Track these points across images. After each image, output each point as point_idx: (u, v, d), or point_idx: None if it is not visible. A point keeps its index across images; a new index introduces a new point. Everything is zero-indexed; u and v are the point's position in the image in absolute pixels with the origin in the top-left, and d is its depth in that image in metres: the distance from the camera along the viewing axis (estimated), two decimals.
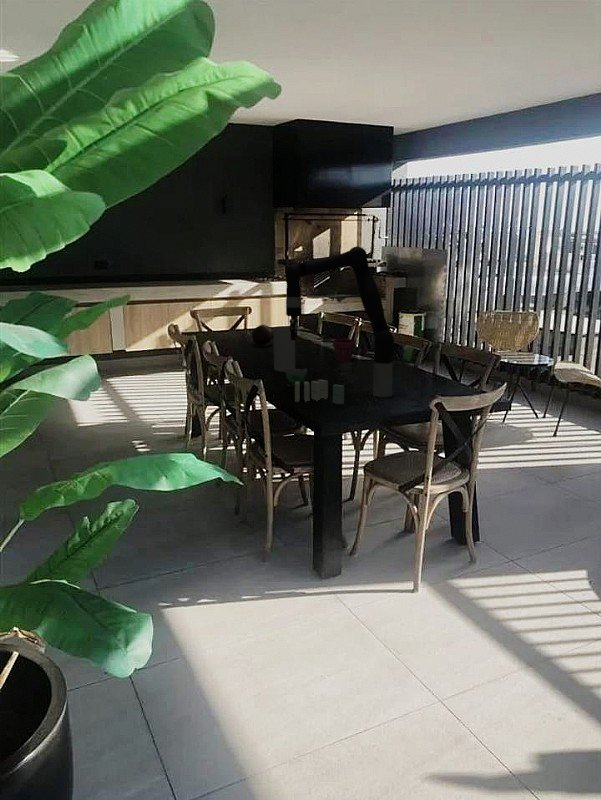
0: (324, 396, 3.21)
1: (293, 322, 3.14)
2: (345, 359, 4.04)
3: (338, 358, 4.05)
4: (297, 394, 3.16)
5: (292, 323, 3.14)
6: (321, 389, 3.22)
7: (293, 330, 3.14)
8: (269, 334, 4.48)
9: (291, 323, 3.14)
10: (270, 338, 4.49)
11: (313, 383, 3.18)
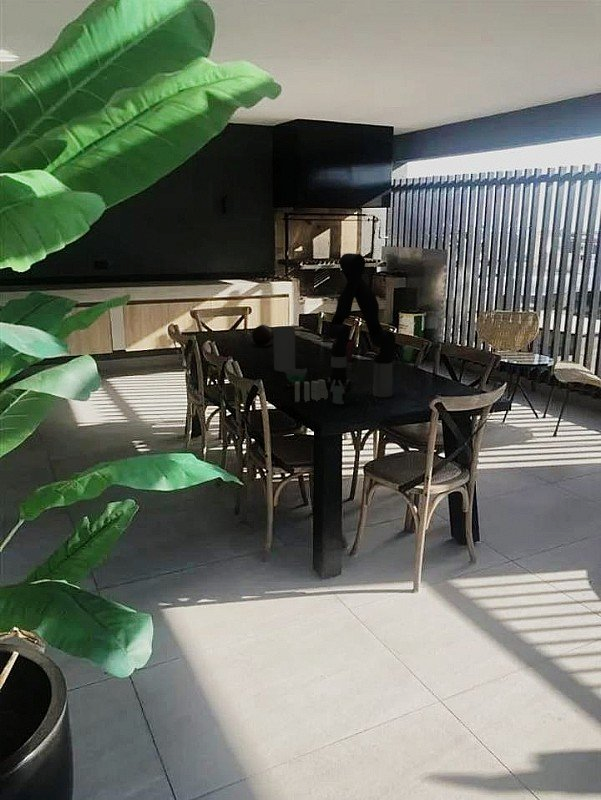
0: (324, 396, 3.21)
1: None
2: None
3: None
4: (297, 394, 3.16)
5: None
6: (321, 389, 3.22)
7: (327, 388, 3.14)
8: (269, 334, 4.48)
9: None
10: (270, 338, 4.49)
11: (313, 383, 3.18)
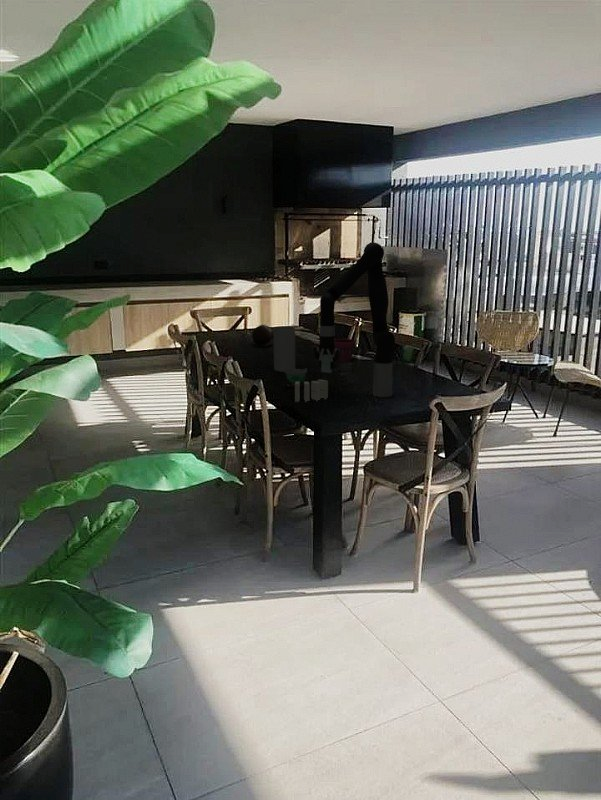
0: (324, 396, 3.21)
1: None
2: (345, 359, 4.04)
3: (338, 358, 4.05)
4: (297, 394, 3.16)
5: None
6: (321, 389, 3.22)
7: None
8: (269, 334, 4.48)
9: None
10: (270, 338, 4.49)
11: (313, 383, 3.18)
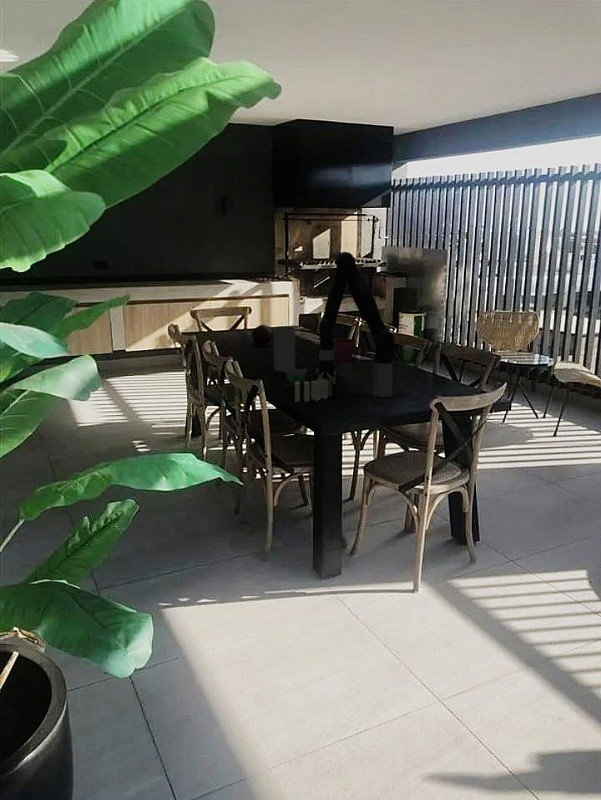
0: (324, 396, 3.21)
1: None
2: (345, 359, 4.04)
3: (338, 358, 4.05)
4: (297, 394, 3.16)
5: None
6: (321, 389, 3.22)
7: (313, 378, 3.28)
8: (269, 334, 4.48)
9: None
10: (270, 338, 4.49)
11: (313, 383, 3.18)
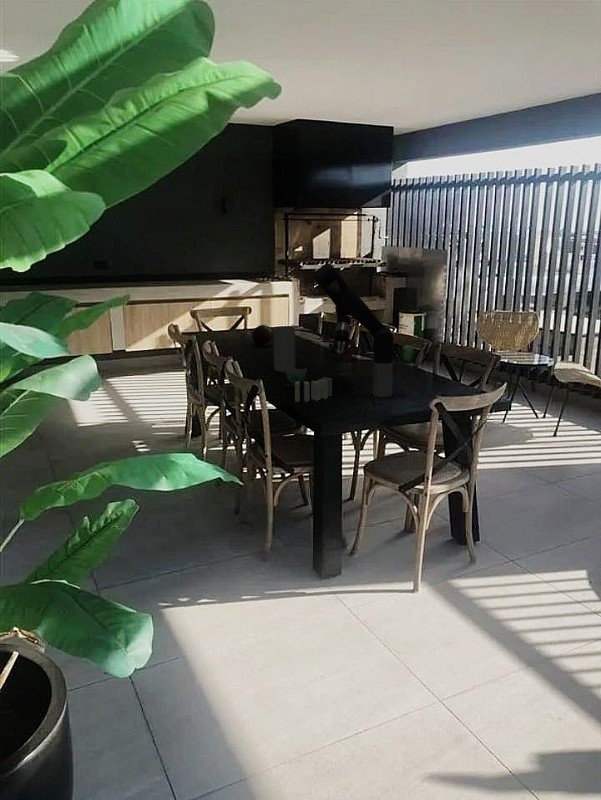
0: (324, 396, 3.21)
1: (350, 349, 3.32)
2: (345, 359, 4.04)
3: None
4: (297, 394, 3.16)
5: (350, 350, 3.32)
6: (321, 389, 3.22)
7: (346, 353, 3.31)
8: (269, 334, 4.48)
9: (350, 349, 3.31)
10: (270, 338, 4.49)
11: (313, 383, 3.18)
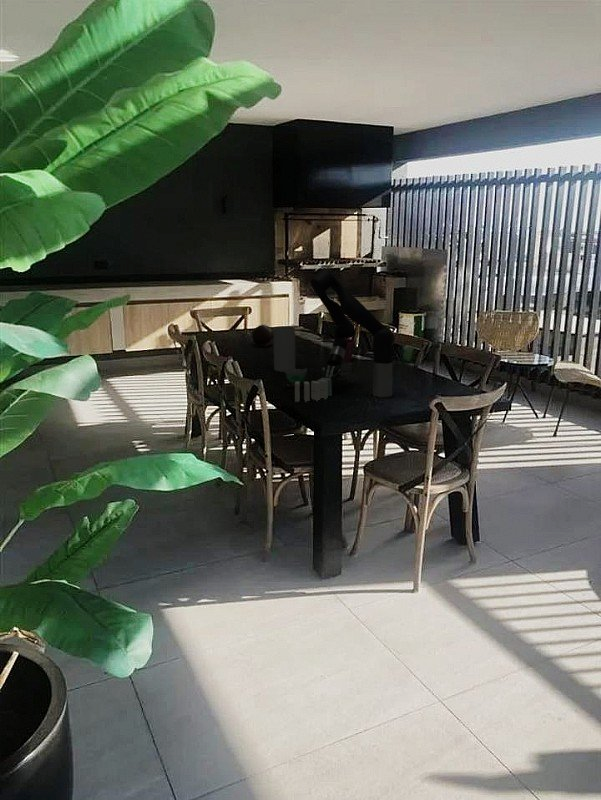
0: (324, 396, 3.21)
1: None
2: (345, 359, 4.04)
3: None
4: (297, 394, 3.16)
5: (340, 374, 3.28)
6: (321, 389, 3.22)
7: (335, 377, 3.28)
8: (269, 334, 4.48)
9: (339, 373, 3.28)
10: (270, 338, 4.49)
11: (313, 383, 3.18)
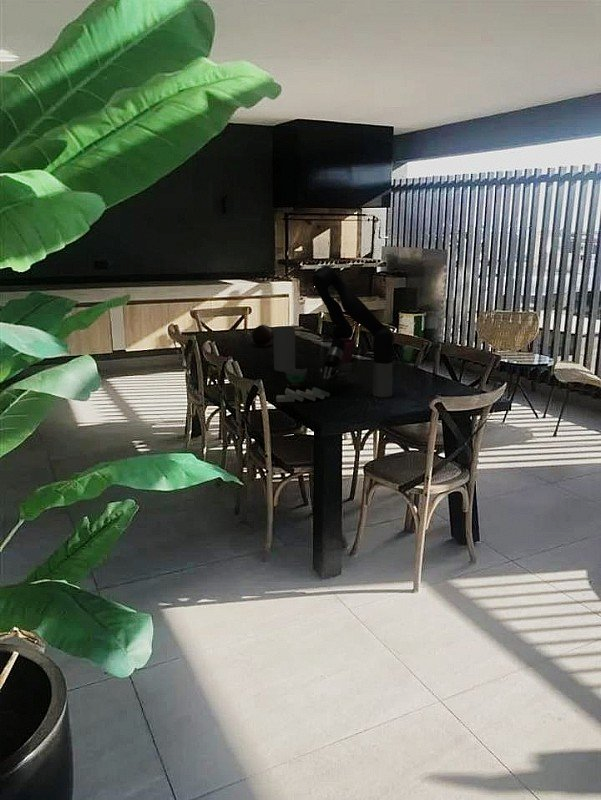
0: (321, 398, 3.20)
1: None
2: (345, 359, 4.04)
3: None
4: (287, 399, 3.17)
5: (337, 375, 3.25)
6: None
7: (333, 379, 3.25)
8: (269, 334, 4.48)
9: (337, 374, 3.24)
10: (270, 338, 4.49)
11: (298, 394, 3.16)
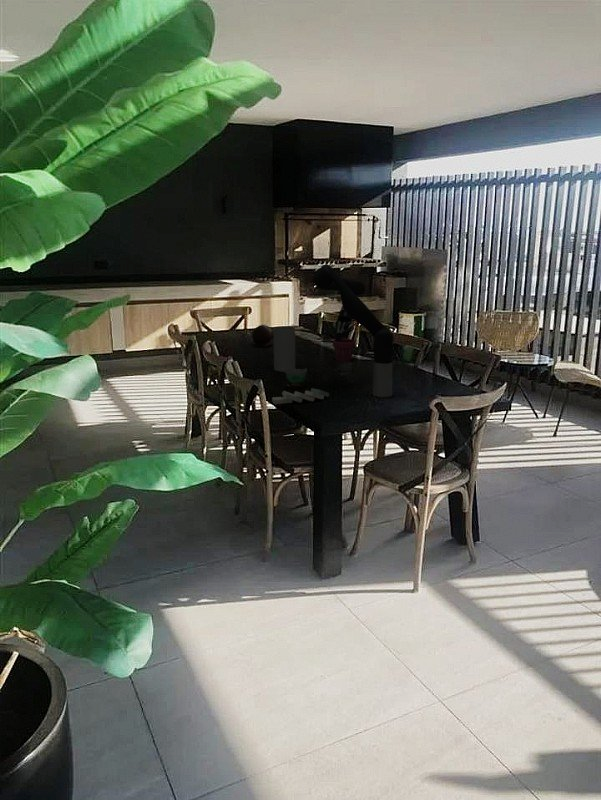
0: None
1: None
2: (345, 359, 4.04)
3: (338, 358, 4.05)
4: (284, 401, 3.14)
5: (351, 329, 3.33)
6: None
7: (346, 333, 3.33)
8: (269, 334, 4.48)
9: (350, 329, 3.33)
10: (270, 338, 4.49)
11: (297, 396, 3.15)
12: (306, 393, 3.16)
